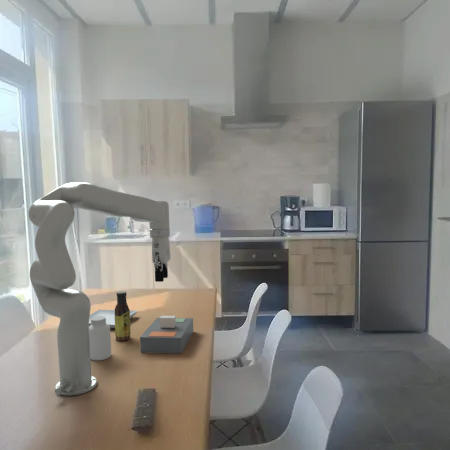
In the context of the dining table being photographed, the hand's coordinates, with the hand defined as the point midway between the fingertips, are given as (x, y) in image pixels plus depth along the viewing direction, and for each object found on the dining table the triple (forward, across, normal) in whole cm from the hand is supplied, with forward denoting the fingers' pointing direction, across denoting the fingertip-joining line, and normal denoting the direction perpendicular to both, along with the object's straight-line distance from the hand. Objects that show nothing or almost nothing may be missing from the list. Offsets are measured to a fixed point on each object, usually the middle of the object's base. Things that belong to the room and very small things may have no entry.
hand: (161, 279), depth 167 cm
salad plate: (+28, +30, +35) cm, 54 cm away
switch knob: (+21, +7, 0) cm, 22 cm away
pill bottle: (+28, -10, +22) cm, 37 cm away
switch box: (+28, +7, 0) cm, 28 cm away
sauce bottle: (+28, +9, +20) cm, 35 cm away
